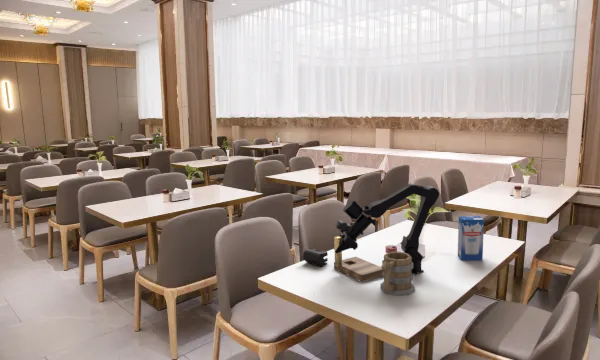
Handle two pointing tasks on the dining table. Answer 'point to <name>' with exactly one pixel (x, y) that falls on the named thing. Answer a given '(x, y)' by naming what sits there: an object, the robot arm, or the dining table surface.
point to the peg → (339, 255)
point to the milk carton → (470, 238)
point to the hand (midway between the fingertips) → (335, 251)
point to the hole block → (360, 269)
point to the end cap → (315, 257)
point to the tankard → (397, 273)
